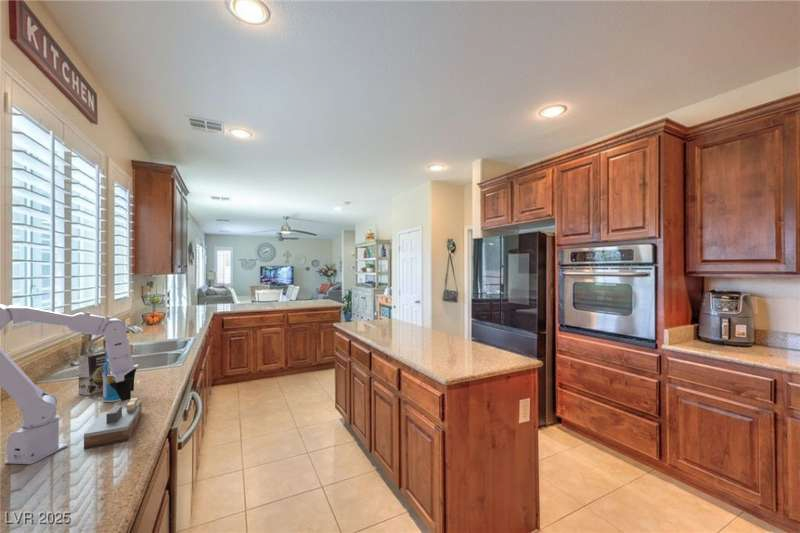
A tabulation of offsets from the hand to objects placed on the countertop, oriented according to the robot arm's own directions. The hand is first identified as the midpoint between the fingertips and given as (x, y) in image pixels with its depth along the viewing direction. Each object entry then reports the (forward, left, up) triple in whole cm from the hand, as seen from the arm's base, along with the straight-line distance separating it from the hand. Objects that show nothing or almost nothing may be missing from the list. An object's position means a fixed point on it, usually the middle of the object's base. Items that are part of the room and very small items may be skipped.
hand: (128, 395), depth 108 cm
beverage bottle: (+24, +27, -11) cm, 37 cm away
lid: (-2, +2, -8) cm, 8 cm away
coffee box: (+31, +43, -11) cm, 54 cm away
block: (+5, +3, -6) cm, 8 cm away
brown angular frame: (0, +4, -11) cm, 12 cm away
